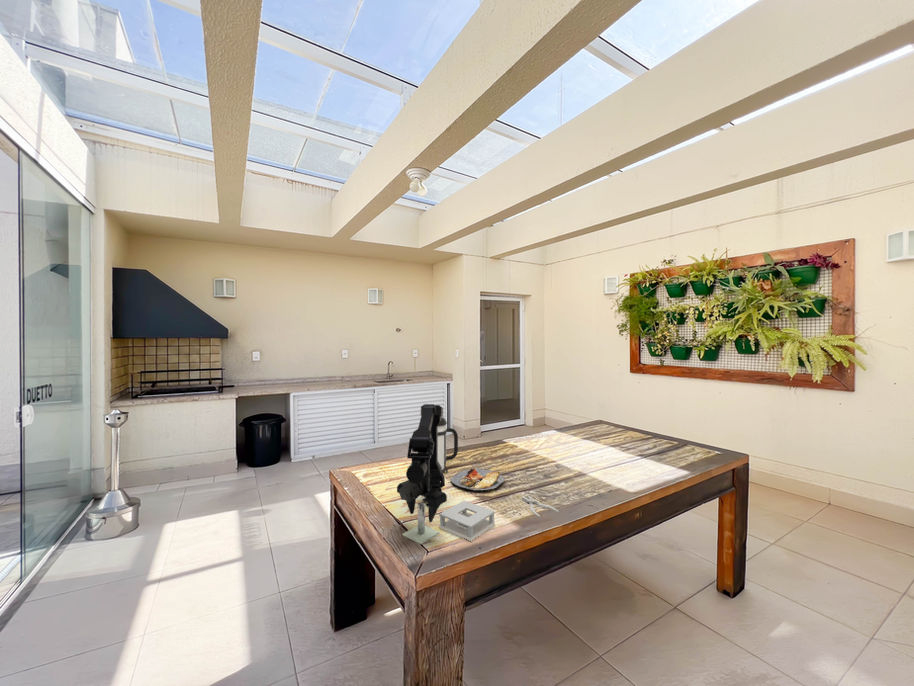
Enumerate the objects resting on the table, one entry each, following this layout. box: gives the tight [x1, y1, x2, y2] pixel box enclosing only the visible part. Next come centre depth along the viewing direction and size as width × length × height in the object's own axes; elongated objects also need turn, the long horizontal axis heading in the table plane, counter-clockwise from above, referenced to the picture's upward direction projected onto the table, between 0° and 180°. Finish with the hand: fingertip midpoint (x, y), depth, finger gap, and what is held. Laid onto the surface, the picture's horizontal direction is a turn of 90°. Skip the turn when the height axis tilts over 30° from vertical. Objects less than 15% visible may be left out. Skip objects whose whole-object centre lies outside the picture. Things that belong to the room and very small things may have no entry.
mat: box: [401, 525, 441, 545], centre depth 124 cm, size 9×9×1 cm
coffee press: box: [438, 416, 459, 474], centre depth 186 cm, size 17×16×30 cm
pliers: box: [521, 495, 560, 518], centre depth 146 cm, size 10×2×15 cm
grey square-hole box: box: [438, 500, 496, 542], centre depth 130 cm, size 14×14×5 cm
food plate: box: [450, 468, 506, 491], centre depth 171 cm, size 25×23×4 cm
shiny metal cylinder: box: [417, 501, 426, 535], centre depth 124 cm, size 2×2×10 cm
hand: (421, 517), depth 124 cm, fingers open, 9 cm apart
